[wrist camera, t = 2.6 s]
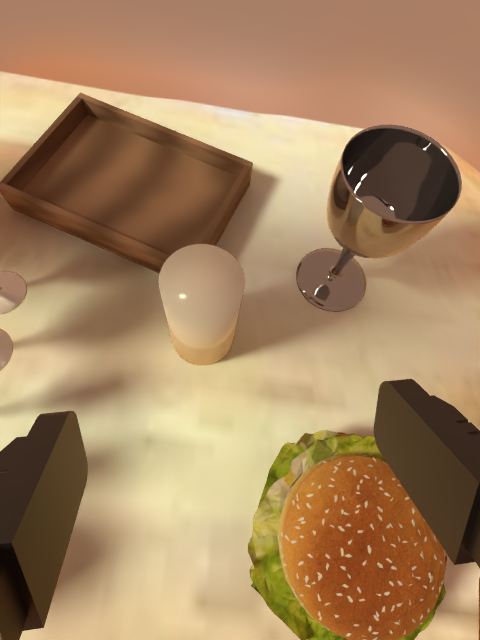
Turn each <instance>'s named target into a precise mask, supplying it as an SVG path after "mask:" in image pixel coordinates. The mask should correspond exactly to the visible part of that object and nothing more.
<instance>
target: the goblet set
mask: <svg viewBox="0 0 480 640" xmlns="http://www.w3.org/2000/svg"><path fill="white" fill-rule="evenodd" d="M26 292H27V286H26V283H25V281H24V279H23V278H22V277H21V276H20V275H18V274H16V273H13V272H9V271H2V272H0V314H5V313H8V312H10V311H12V310H14V309H16V308H17V307H18V306H19V305H20V304H21V303H22V302H23V300H24V298H25V296H26ZM12 352H13V344H12V340H11V338H10V336H9V335H8V334H7V333H6V332H5V331H4V330H2V329H0V370H2V369H3V368H4V367H5V366H6V364H7V363H8V362H9V360H10V358H11V355H12Z"/></svg>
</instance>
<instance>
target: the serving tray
mask: <svg viewBox="0 0 480 640" xmlns="http://www.w3.org/2000/svg"><path fill="white" fill-rule="evenodd" d="M252 166H253V163H252V162H250V161H247V160H245V159H242V158H240V157H237V156H235V155H232V154H230V153H227V152H225V151H223V150H220V149H218V148H215V147H213V146H210V145H208V144H205V143H203V142H200V141H198V140H195V139H193V138H191V137H188V136H186V135H183V134H181V133H178V132H176V131H173V130H171V129H168V128H166V127H163V126H161V125H159V124H156V123H154V122H151V121H149V120H146V119H144V118H141V117H139V116H136V115H134V114H131V113H129V112H126V111H124V110H122V109H119V108H117V107H114V106H112V105H109V104H107V103H104V102H102V101H99V100H97V99H94V98H92V97H90V96H87V95H85V94H82V93H80V94H79V95H78V96H77V97H76V98H75V99H74V100H73V101H72V103H71V104H70V105H69V106H68V107H67V108H66V109H65V110H64V112H63V113H62V114H61V115H60V116H59V117H58V118H57V119H56V120H55V122H54V123H53V124H52V125H51V126H50V127H49V128H48V129H47V131H46V132H45V133H44V134H43V135H42V136H41V137H40V138H39V139H38V141H37V142H36V143H35V144H34V145H33V146H32V147H31V148H30V150H29V151H28V152H27V153H26V154H25V155H24V156H23V157H22V158H21V160H20V161H19V162H18V163H17V164H16V165H15V166H14V167H13V169H12V170H11V171H10V172H9V173H8V174H7V175H6V176H5V177H4V179H3V180H2V181H1V182H0V192H1V194H2V195H3V196H4V198H5V199H6V200H7V202H8V203H9V205H10V206H11V207H12V209H15V210H17V211H19V212H21V213H24V214H26V215H28V216H30V217H33V218H35V219H37V220H40V221H42V222H44V223H46V224H49V225H51V226H53V227H56V228H58V229H60V230H62V231H65V232H67V233H69V234H71V235H74V236H76V237H78V238H81V239H83V240H85V241H87V242H90V243H92V244H94V245H97V246H99V247H101V248H103V249H106V250H108V251H110V252H112V253H115V254H117V255H119V256H122V257H124V258H126V259H128V260H131V261H133V262H135V263H138V264H140V265H142V266H144V267H147V268H149V269H151V270H153V271H156V272H158V273H160V271H161V268H162V266H163V264H164V263H165V261H166V260H167V259H168V258H169V257H170V256H171V255H172V254H173V253H174V252H176V251H177V250H179V249H181V248H183V247H186V246H189V245H194V244H208V245H213V246H216V244H217V243H218V241H219V239H220V237H221V235H222V234H223V232H224V230H225V228H226V226H227V225H228V223H229V221H230V219H231V217H232V216H233V214H234V212H235V210H236V208H237V206H238V205H239V203H240V201H241V199H242V197H243V196H244V194H245V192H246V190H247V188H248V187H249V185H250V179H251V172H252Z"/></svg>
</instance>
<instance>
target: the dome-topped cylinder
mask: <svg viewBox="0 0 480 640" xmlns="http://www.w3.org/2000/svg"><path fill="white" fill-rule="evenodd" d="M244 286H245V278H244V273H243V270H242V268H241V266H240V264H239V263H238V261H237V260H236V259H235V258H234V257H233V256H232V255H231V254H230V253H229V252H227V251H225V250H224V249H222V248H219V247H217V246H213V245H208V244H194V245H189V246H186V247H183V248H181V249H179V250H177V251H176V252H174V253H173V254H172V255H171V256H170V257H169V258H168V259H167V260H166V261H165V263H164V264H163V266H162V268H161V271H160V275H159V289H160V294H161V298H162V302H163V306H164V310H165V314H166V318H167V323H168V327H169V331H170V335H171V339H172V343H173V346H174V349H175V351H176V352H177V354H178V355H179V356H180V357H181V358H182V359H184V360H185V361H187V362H189V363H191V364H194V365H201V366H202V365H210V364H213V363H216V362H218V361H219V360H221V359H222V358H223V357H224V356H225V355H226V354H227V353H228V352H229V350H230V348H231V345H232V342H233V337H234V333H235V328H236V324H237V319H238V315H239V310H240V306H241V301H242V297H243V292H244Z"/></svg>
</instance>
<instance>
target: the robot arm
mask: <svg viewBox="0 0 480 640" xmlns="http://www.w3.org/2000/svg"><path fill="white" fill-rule="evenodd" d="M374 438H375V442H376V445H377V447H378V450H379V451H380V453H381V454H382V456H383V457H384V459H385V461H386V462H387V464H388V465H389V467H390V468H391V470H392V471H393V473H394V474H395V476H396V477H397V479H398V480H399V482H400V483H401V485H402V486H403V488H404V489H405V491H406V492H407V494H408V495H409V497H410V498H411V500H412V501H413V503H414V504H415V506H416V507H417V509H418V511H419V512H420V514H421V515H422V517H423V518H424V520H425V521H426V523H427V524H428V526H429V527H430V529H431V530H432V532H433V533H434V535H435V536H436V538H437V539H438V541H439V542H440V544H441V545H442V547H443V548H444V550H445V551H446V553H447V554H448V556H449V557H450V559H451V560H452V562H453V564H454V565H457V564H463V563H470V562H476V563H477V565H478V566H479V568H480V431H479V430H478V429H477V428H476V427H475V426H474V425H473V424H472V423H471V422H470V423H468V419H466V418H465V417H464V416H463V415H462V414H461V413H460V412H459V411H458V410H457V409H456V408H455V407H454V406H452V405H450V404H448V403H447V402H445V401H443V400H441V399H439V398H437V397H436V396H434V395H433V396H430V395H429V394H428V393H427V392H426V391H425V390H424V389H423V388H422V387H421V386H420V385H419V384H417V383H416V382H415V381H414V380H412V379H405V380H395V381H384V382H382V383H381V385H380V388H379V394H378V401H377V408H376V415H375V422H374ZM86 481H87V458H86V454H85V449H84V445H83V441H82V436H81V432H80V428H79V424H78V419H77V416H76V414H75V412H74V411H66V412H56V413H46V414H40V415H39V416H38V417H37V419H36V421H35V423H34V424H33V426H32V428H31V430H30V432H29V434H28V435H27V436H26V437H17V438H15V439H14V440H13V441H12V442H11V443H10V444H9V445H7V446H6V447H5V448H4V449H3V450H2V451H0V640H19V639H20V636H21V633H22V631H25V630H32V629H38V628H44V625H45V621H46V618H47V615H48V611H49V608H50V604H51V601H52V598H53V594H54V591H55V587H56V584H57V581H58V577H59V574H60V570H61V567H62V564H63V560H64V557H65V554H66V550H67V547H68V543H69V540H70V537H71V533H72V530H73V526H74V523H75V520H76V516H77V513H78V509H79V506H80V503H81V499H82V496H83V493H84V489H85V486H86ZM479 640H480V578H479Z"/></svg>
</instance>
